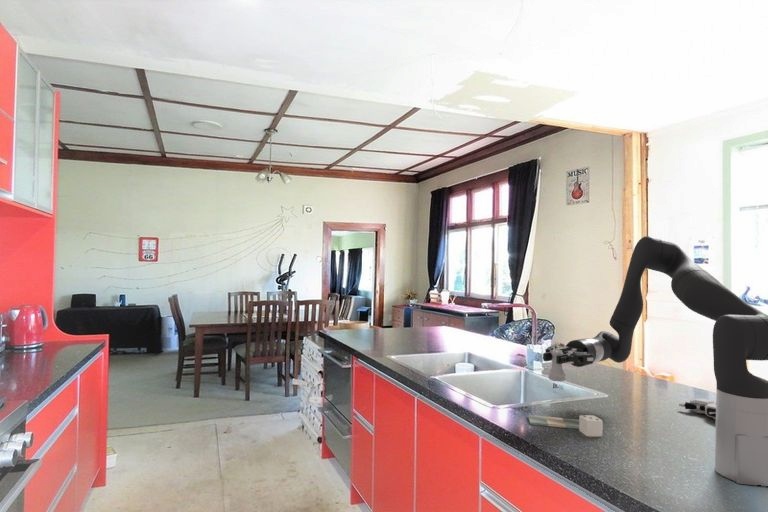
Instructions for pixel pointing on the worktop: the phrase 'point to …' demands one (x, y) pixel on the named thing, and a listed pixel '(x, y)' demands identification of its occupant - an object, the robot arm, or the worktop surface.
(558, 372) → the rook chess piece
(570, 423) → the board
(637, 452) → the worktop surface
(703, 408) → the robot toy
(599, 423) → the die
